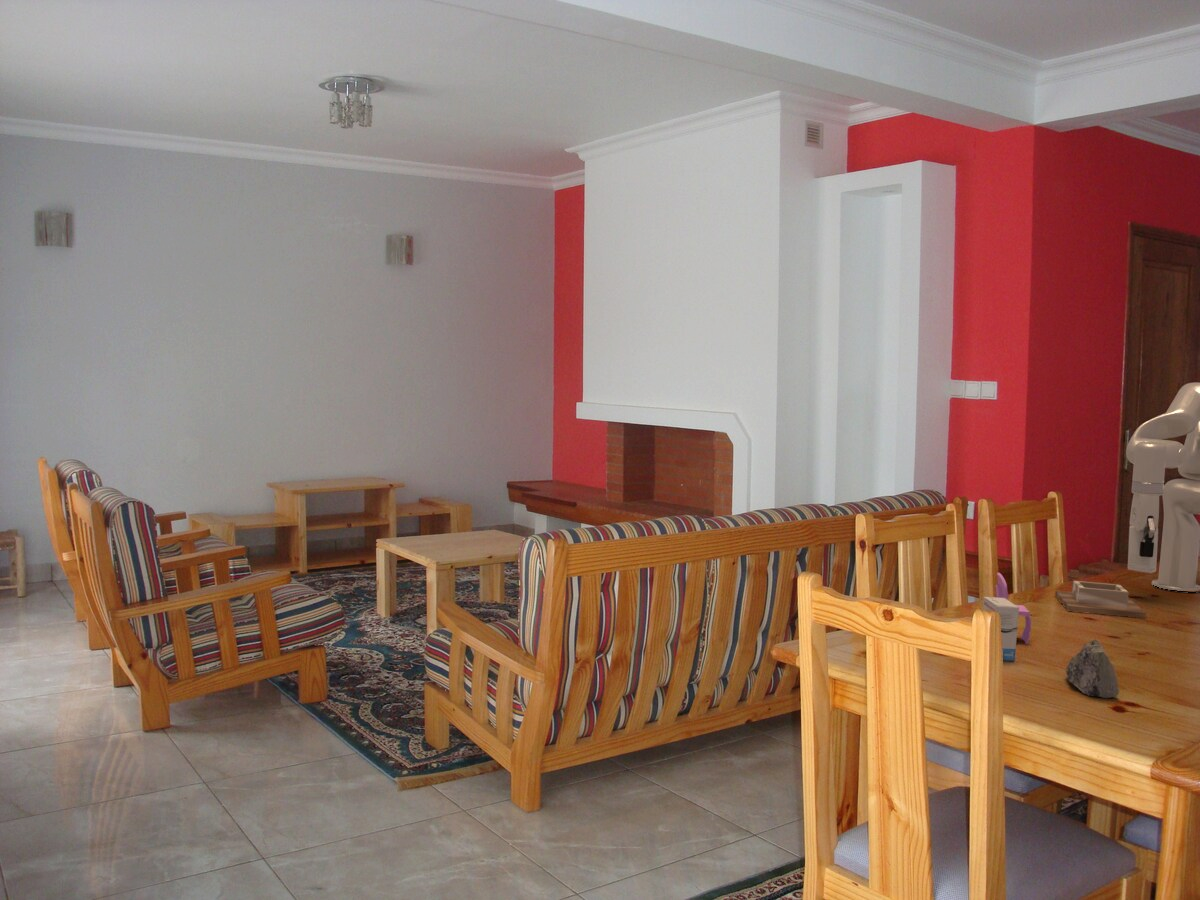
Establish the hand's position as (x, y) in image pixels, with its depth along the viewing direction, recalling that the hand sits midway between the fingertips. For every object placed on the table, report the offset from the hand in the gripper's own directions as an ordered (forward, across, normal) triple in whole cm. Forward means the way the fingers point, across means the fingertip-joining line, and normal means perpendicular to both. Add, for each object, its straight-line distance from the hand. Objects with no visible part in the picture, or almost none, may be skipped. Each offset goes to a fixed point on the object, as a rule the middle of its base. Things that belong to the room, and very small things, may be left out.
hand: (1142, 553), depth 278 cm
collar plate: (+12, +13, -13) cm, 22 cm away
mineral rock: (+10, +89, -29) cm, 94 cm away
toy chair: (+11, +57, -41) cm, 71 cm away
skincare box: (+5, 0, 0) cm, 5 cm away
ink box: (+10, +72, -45) cm, 85 cm away
